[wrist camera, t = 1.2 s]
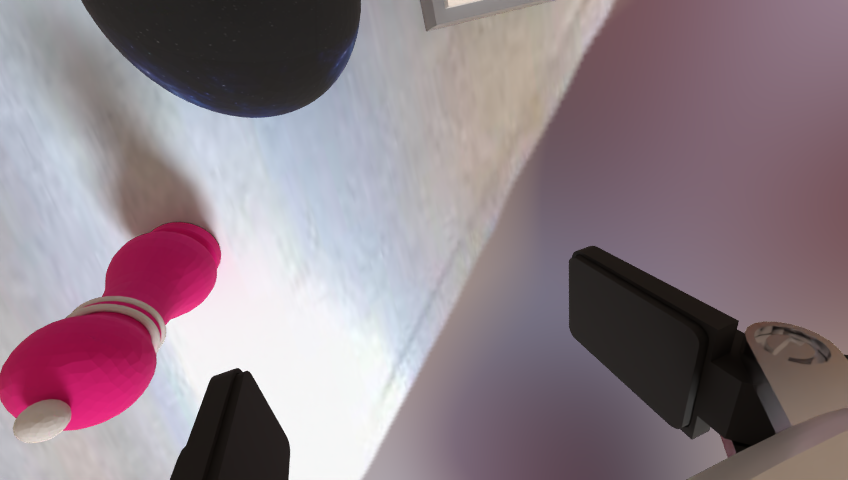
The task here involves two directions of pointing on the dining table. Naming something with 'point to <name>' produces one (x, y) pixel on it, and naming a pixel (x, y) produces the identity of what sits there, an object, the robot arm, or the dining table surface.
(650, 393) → the robot arm
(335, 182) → the dining table surface
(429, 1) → the switch panel
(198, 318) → the dining table surface
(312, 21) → the decorative sphere
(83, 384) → the pepper mill
